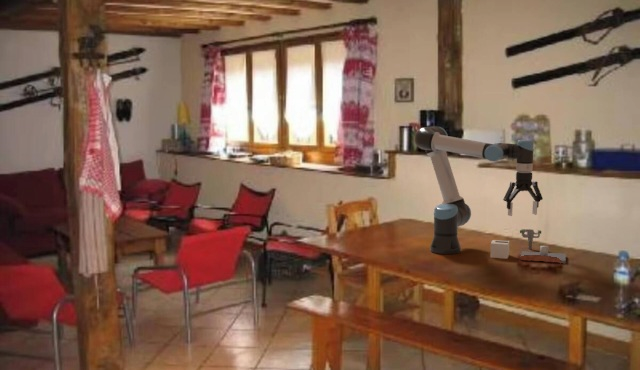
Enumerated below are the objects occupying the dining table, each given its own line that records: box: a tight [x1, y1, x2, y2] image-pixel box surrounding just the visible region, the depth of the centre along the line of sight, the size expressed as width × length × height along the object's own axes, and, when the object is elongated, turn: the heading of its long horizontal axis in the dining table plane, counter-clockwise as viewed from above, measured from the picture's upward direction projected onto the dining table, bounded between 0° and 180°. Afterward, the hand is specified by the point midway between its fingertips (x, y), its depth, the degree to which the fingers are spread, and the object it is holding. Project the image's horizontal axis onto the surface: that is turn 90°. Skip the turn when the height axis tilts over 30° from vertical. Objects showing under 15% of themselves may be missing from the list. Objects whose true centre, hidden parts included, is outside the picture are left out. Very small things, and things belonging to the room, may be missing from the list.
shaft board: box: [520, 245, 567, 265], centre depth 306 cm, size 20×14×6 cm
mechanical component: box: [519, 228, 542, 250], centre depth 326 cm, size 3×10×10 cm, turn 78°
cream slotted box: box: [490, 239, 510, 259], centre depth 312 cm, size 8×8×7 cm
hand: (522, 214), depth 314 cm, fingers open, 13 cm apart
